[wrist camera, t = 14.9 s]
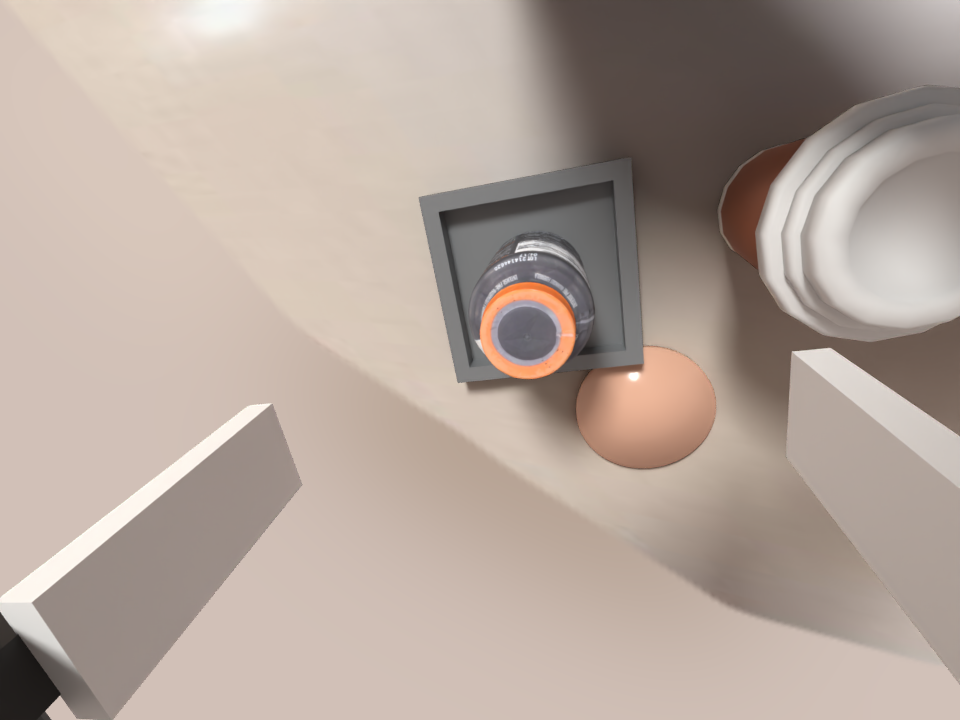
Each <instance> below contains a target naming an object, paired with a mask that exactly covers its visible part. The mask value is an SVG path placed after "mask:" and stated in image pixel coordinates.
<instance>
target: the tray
mask: <svg viewBox="0 0 960 720" xmlns="http://www.w3.org/2000/svg"><path fill="white" fill-rule="evenodd" d="M419 202H420V206H421V211H422V216H423V221H424V225H425V230H426V235H427V239H428V244H429V249H430V254H431V258H432V263H433V268H434V273H435V277H436V282H437V287H438V292H439V296H440V301H441V306H442V311H443V315H444V320H445V325H446V329H447V334H448V339H449V344H450V348H451V353H452V358H453V363H454V367H455V372H456V377H457V382H458V383H462V382H471V381H481V380H491V379H501V378H510V377H512V376H509V375H507V374H505V373H503V372H501V371H500V370H498V369H497V368H496V367H495V366H494V365H493V364H492V363H491V362H490V361H489V359H488V358H487V357H486V355H485V354H484V353H483V352H482V350H481V349H480V348H479V346H478V345H477V343H476V341H475V340H474V338H473V335H472V333H471V329H470V326H469V317H468V309H469V301H470V298H471V294H472V291H473V289H474V287H475V285H476V283H477V282H478V280H479V279H480V277H481V275H482V274H483V272H484V271H485V269H486V267H487V266H488V264H489V263H490V261H491V260H492V258H493V257H494V255H495V254H496V252H497V251H498V250H499V249H500V248H501V246H502V245H503V244H504V243H506V242H507V241H508V240H510V239H511V238H513V237H515V236H516V235H519V234H522V233H525V232H530V231H546V232H550V233H553V234H556V235H558V236H560V237H562V238H563V239H565V240H566V241H568V242H569V243H570V244H571V245H572V246H573V247H574V248H575V250H576V251H577V252H578V254H579V256H580V258H581V260H582V263H583V266H584V270H585V273H586V277H587V280H588V283H589V287H590V290H591V293H592V297H593V301H594V307H595V319H594V325H593V330H592V333H591V335H590V337H589V339H588V341H587V343H586V345H585V346H584V348H583V349H582V350H581V352H580V353H579V354H578V355H577V356H576V357H575V358H574V359H573V360H571V361H570V362H569V363H567V364H566V365H564V366H562V367H560V368H559V369H558V370H556V371H555V372H553V373H559V372H568V371H578V370H588V369H597V368H607V367H617V366H626V365H636V364H644V356H643V340H642V324H641V308H640V292H639V276H638V260H637V244H636V227H635V211H634V195H633V179H632V163H631V157H629V158H623V159H618V160H612V161H607V162H602V163H596V164H591V165H586V166H581V167H575V168H570V169H565V170H559V171H554V172H549V173H544V174H538V175H533V176H528V177H522V178H517V179H512V180H506V181H501V182H496V183H491V184H485V185H480V186H475V187H469V188H464V189H459V190H454V191H448V192H443V193H438V194H432V195H427V196H422V197H419Z"/></svg>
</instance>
